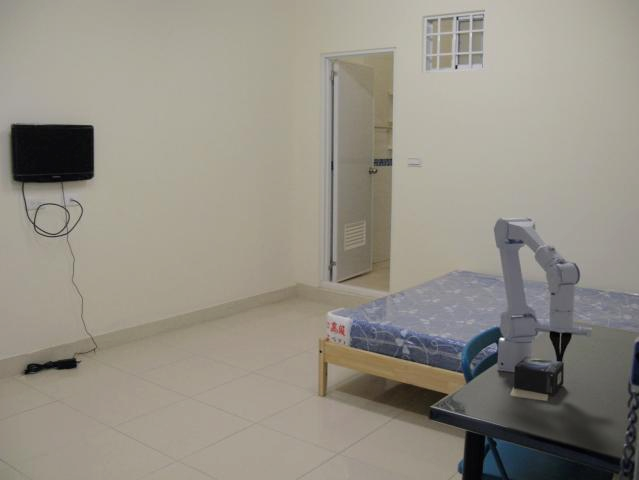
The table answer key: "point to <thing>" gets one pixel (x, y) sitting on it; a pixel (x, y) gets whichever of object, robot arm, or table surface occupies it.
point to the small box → (539, 375)
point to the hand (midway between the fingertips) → (559, 360)
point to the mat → (528, 394)
